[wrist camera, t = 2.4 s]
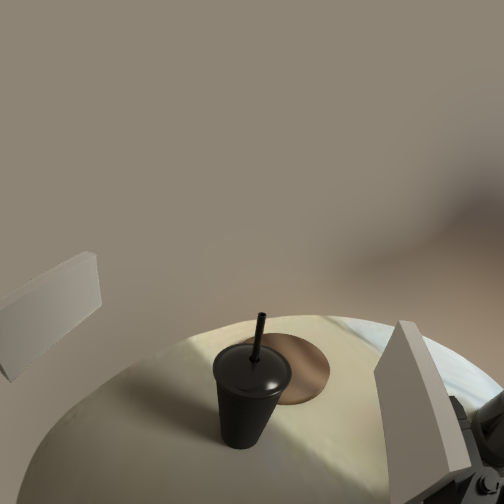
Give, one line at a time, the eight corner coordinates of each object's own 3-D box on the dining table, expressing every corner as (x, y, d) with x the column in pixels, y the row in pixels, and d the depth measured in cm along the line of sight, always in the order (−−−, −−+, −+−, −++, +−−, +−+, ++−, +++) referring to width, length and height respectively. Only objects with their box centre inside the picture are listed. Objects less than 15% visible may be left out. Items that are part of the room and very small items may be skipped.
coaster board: (287, 330, 53) (289, 324, 52) (345, 378, 41) (348, 372, 40) (216, 353, 44) (216, 347, 44) (271, 420, 32) (273, 415, 31)
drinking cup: (229, 467, 24) (247, 356, 17) (200, 424, 30) (200, 300, 23) (280, 443, 28) (326, 326, 21) (249, 406, 34) (271, 285, 27)
